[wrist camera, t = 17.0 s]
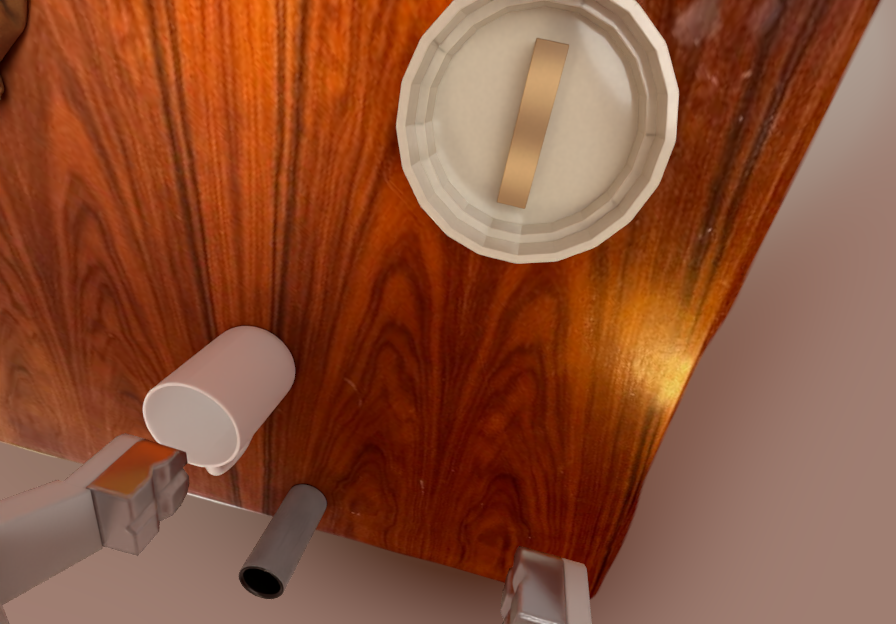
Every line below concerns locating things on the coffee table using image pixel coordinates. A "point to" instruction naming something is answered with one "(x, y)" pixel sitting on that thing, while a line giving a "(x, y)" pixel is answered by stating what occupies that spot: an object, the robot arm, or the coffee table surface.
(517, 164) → the tan wooden bar
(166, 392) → the cup
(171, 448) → the robot arm
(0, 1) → the stuffed squirrel
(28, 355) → the coffee table surface
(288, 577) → the grey hollow cylinder
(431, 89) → the bowl
